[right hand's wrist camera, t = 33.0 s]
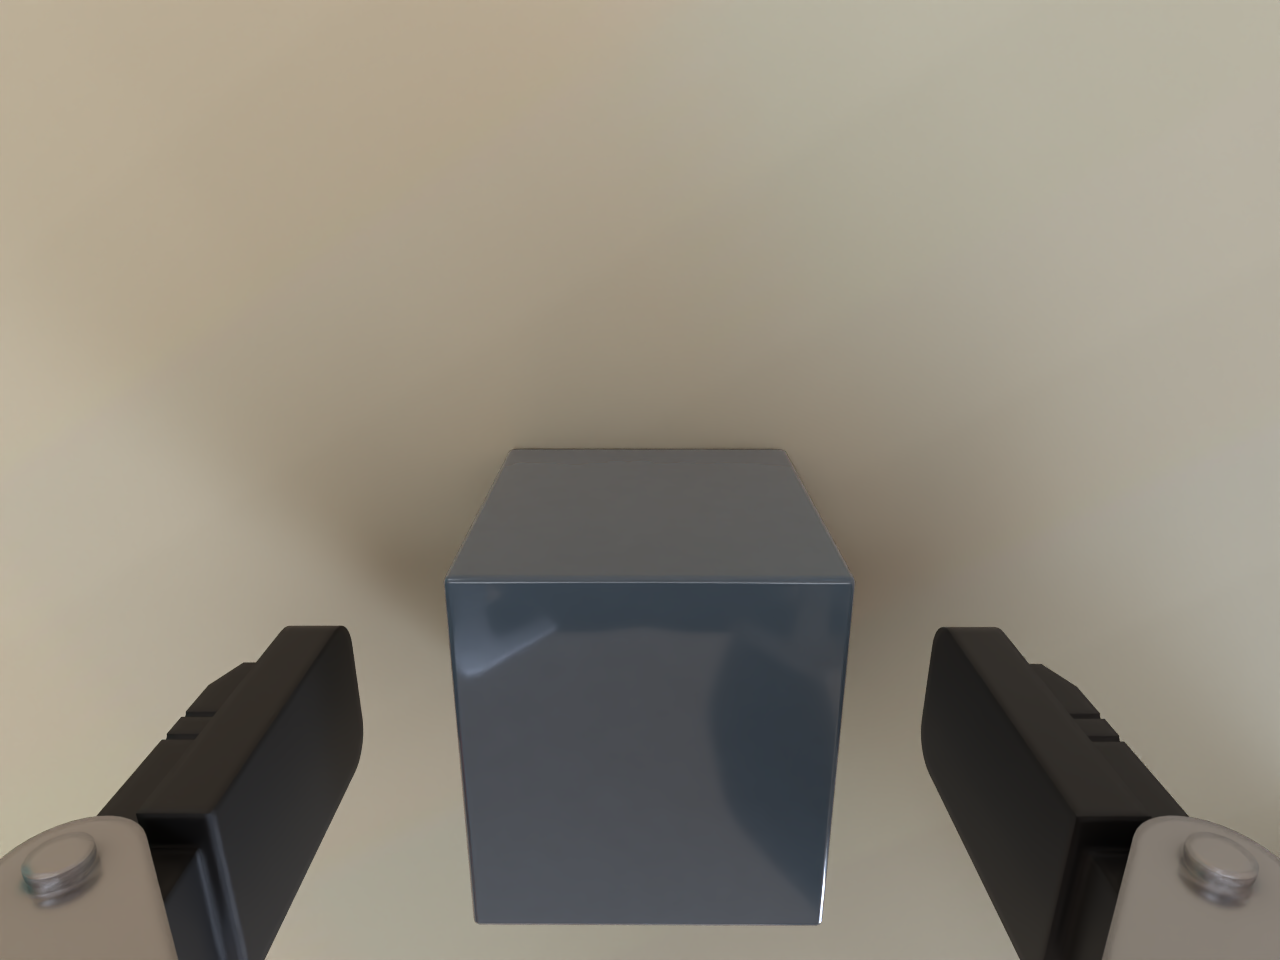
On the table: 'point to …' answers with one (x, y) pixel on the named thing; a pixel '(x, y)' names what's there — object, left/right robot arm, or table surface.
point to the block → (648, 689)
